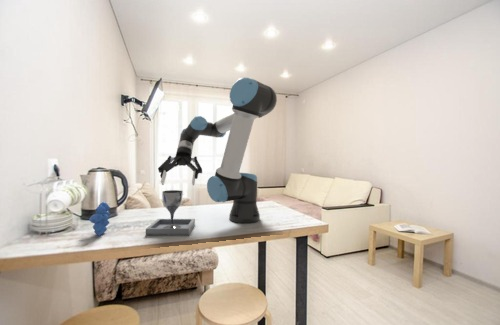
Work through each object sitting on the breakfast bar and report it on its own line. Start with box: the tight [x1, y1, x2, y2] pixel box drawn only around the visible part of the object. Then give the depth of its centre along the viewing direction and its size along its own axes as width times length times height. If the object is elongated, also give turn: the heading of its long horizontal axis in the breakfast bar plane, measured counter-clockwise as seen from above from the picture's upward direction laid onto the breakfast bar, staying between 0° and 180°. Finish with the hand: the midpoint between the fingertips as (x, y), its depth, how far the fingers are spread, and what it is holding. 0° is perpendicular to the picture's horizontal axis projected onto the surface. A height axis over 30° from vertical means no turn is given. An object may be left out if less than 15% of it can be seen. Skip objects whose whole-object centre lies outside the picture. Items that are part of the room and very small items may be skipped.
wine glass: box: [161, 189, 184, 228], centre depth 94 cm, size 8×8×15 cm
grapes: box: [88, 201, 111, 237], centre depth 86 cm, size 12×7×12 cm, turn 16°
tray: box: [145, 218, 196, 237], centre depth 94 cm, size 16×15×3 cm
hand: (177, 183), depth 102 cm, fingers open, 13 cm apart
